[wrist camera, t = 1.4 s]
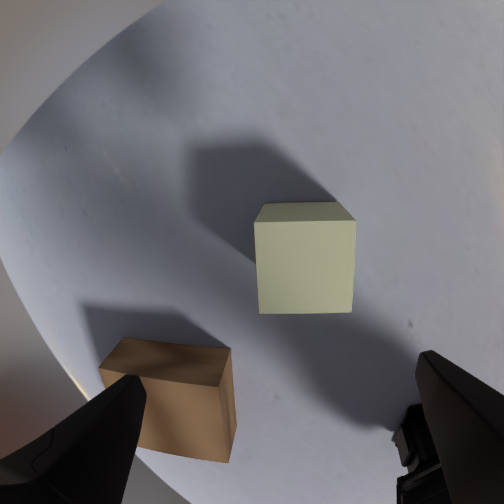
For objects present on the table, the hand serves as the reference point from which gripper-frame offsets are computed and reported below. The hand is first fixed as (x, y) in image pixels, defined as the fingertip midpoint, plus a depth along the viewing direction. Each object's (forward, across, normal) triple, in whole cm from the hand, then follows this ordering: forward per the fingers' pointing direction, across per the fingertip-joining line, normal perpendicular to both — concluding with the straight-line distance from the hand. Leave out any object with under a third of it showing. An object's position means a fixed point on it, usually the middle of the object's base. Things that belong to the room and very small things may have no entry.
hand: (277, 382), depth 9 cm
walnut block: (+14, +10, +14) cm, 22 cm away
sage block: (+14, -2, 0) cm, 14 cm away
